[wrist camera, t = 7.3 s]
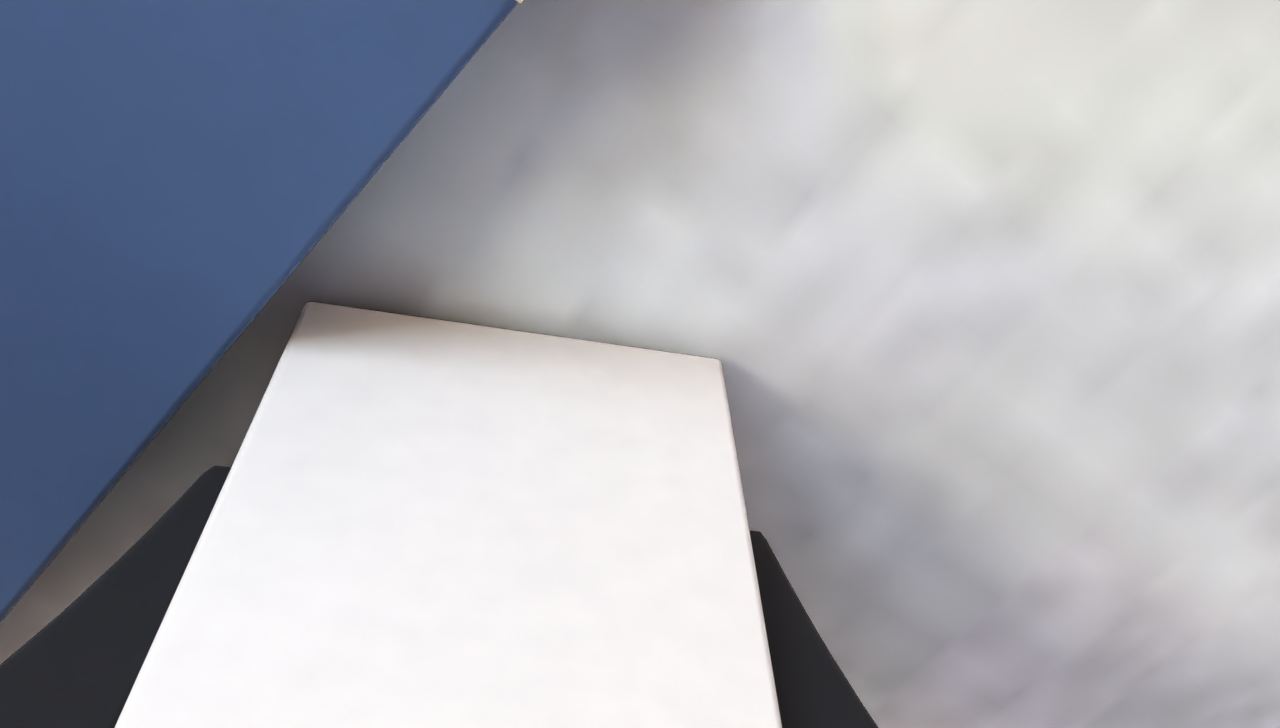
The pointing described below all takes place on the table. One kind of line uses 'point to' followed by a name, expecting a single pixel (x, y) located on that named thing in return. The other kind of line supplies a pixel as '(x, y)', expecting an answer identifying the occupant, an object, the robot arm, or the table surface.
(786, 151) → the table surface
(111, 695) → the robot arm
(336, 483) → the white block
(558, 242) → the table surface
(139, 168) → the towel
